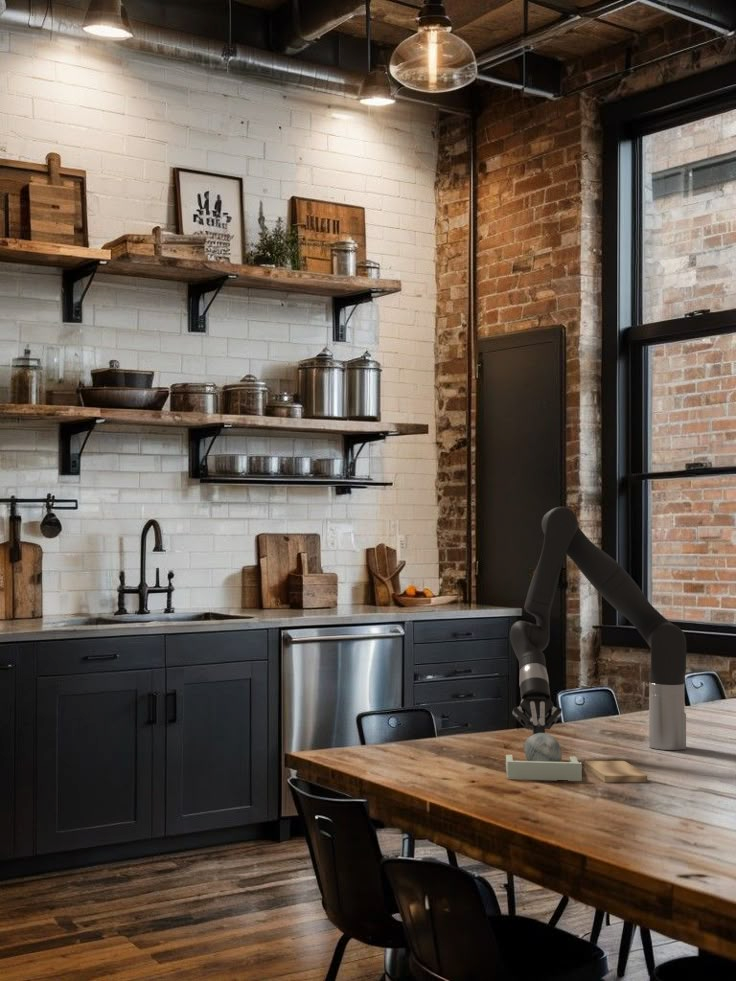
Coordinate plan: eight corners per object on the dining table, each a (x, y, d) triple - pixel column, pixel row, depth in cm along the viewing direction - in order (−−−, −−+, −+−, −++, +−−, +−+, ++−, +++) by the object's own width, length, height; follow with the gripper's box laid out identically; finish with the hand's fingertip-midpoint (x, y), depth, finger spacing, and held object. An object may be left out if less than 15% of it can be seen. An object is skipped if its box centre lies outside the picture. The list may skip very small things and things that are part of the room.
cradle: (575, 766, 295) (575, 750, 296) (581, 781, 278) (581, 763, 278) (505, 764, 297) (505, 748, 297) (507, 779, 280) (507, 761, 280)
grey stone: (520, 747, 302) (537, 715, 299) (554, 766, 301) (572, 734, 298) (511, 770, 289) (530, 737, 286) (547, 790, 288) (566, 756, 285)
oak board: (624, 767, 296) (624, 760, 296) (647, 782, 278) (647, 775, 278) (584, 767, 295) (584, 761, 295) (604, 782, 277) (604, 775, 277)
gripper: (509, 675, 311) (514, 731, 298) (561, 676, 310) (568, 732, 298) (507, 693, 316) (512, 749, 303) (558, 694, 316) (564, 750, 303)
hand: (539, 740), depth 301 cm, fingers closed
